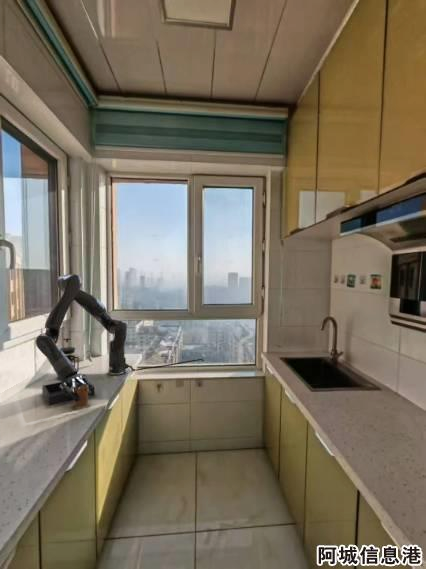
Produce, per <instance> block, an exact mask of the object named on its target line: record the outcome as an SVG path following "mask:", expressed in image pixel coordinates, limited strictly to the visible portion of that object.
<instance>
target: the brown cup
mask: <svg viewBox="0 0 426 569" xmlns="http://www.w3.org/2000/svg"><path fill="white" fill-rule="evenodd" d="M75 393H77V394H78V396H79V397H80V400H79V401H78V402H76V401H75V400H73V407H74V408H76V409H77V408H78V409H79V408H85V407H87V406H88V405H89V396H88V394H89V385H88V384H79V385H76V386H75Z"/></svg>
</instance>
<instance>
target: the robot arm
mask: <svg viewBox="0 0 426 569" xmlns="http://www.w3.org/2000/svg"><path fill="white" fill-rule="evenodd" d="M82 283H83V282H82V278H81V276H79V274H73V273H72V274H70V273H69V274H63V275H59V276H58V277H57V279H56V287H57V288H58V290H59V291H60V292H62V294H61V295H62V296H61V297H60V299H59V300H58V301H57V303H56V304H55V305H54V306H53V307H52V309H51V310H50V312H49V314H48V315H47V316H48V317H47V319H46V321H45V323H44V328H45V333H41V334H39V335H38V336H37V337H36V338H35V346H36V347H37V348H38V350H39V351H40V352H41V354H42V355H43V356H45V357H46V359H47V360H48V362H49V364H50V365H51V367H52V368H53V371H54V372H55V374H56V375H57V378H58V377H59V378H60V380H59V381H60V382H64V383H62V384H61V385H60V386H59V388H60V389H61V390H62V391H63V393H64V394H65V395H66V396H72V397H73V399H74V400H75V401H76V402H78V401H79V400H80V397H79V396H78V394H77V393H75V386H76V385H79V384H80V383H81V384H86V383H87V384H88V385H89V384H90V383H91V382H90V381H89V379H88V377H87V375H86V374H84V373H83V374H81V375H79V373H78V372H77V368H76V366H75V367H74V366H73V365H74V363H72V361H70V360H69V359H68V358H67V357H66V355H67V354H64V352H63V351H62V350H61V349H60V347H58V345H57V344H58V341H59V337H60V332H61V328H62V326H63V322H64V319H65V317H66V315H67V313H68V310H69V309H70V307H71V305H72V304H73V301H74V302H75V303H76V304H77V305H79V307H81V308H82V309H83V310H84V311H85V312H86V313H87V314H88V315H89V316H91V317H92V318H94V319H95V320H96V321H97V322H98V323H100V325H101V326H102V327H103V328H104V329H105V330H106V331H107V333H109V335H110V334H111V335H113V339H112V340H110V341H109V343H108V375H110V376H119V375H123V374H126V370H127V369H129V368H130V369H131V371H134V372H137V371H143V370H149V369H157V368H165V367H171V366H176V365H181V364H182V365H183V364H186V363H192V362H198V361H202V362H205V360H204V359H203V358H197V359H191V360H186V361H180V362H175V363H174V362H173V363H170V364H169V363H168V364H162V365H155V366H147V367H141V368H138V369H137V368H136V369H135V368H133V366H132V365H130V364H128V363H127V361H126V357H125V351H126V350H125V348H126V341H127V333H128V331H127V330H128V326H127V323H126V321H125V320H122V319H115V318H114V317H112V316H111V315H110V314H109V313H108V312H107V308H106V306H105V304H104V303H103V302H102V301H101V300H100V299H98V297H96V296H95V295H92V294H91V293H89V292H86V291H85V290H83V289H82V288H81V287H82ZM89 382H90V383H89ZM67 386H68V387H67ZM90 395H91V391H90V390H89V394H88V397H91V396H90ZM74 400H73V401H74Z"/></svg>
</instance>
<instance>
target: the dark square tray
mask: <svg viewBox="0 0 426 569" xmlns="http://www.w3.org/2000/svg"><path fill="white" fill-rule="evenodd" d="M62 383H64V382H62V381H58V382H54V383H47V384H43V385H42V388H41V389H42V392H41V393H42V395H43V396H42V397H43V398H44V400H45V401H46V403H47V405H48V406H53V405H58V404H61V403H66V402H71V401H74V399H73V397H72V396H66V395H65V394H64V393H63V391H62V390H61V389H60V388H59V386H60V385H61V384H62ZM89 383H90V384H89V390H90V391H91V395H90V396H89V397H92V396H95V386H94V385H93V384H92V383H91V382H90V381H89ZM80 384H81V383H80ZM86 384H87V383H86ZM67 387H68V386H67Z"/></svg>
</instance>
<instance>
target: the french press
mask: <svg viewBox="0 0 426 569" xmlns="http://www.w3.org/2000/svg"><path fill="white" fill-rule="evenodd" d="M62 340H63V341H65V342H66V343H69V341H71V340H72V338H70V337H67V338H63V339H62ZM59 348H60V347H59ZM60 349H61V350H62V351H63V352H64V354H65V355H66V357H67V358H68V359H69V360H70V361H71V362H72V361H73V366H74V367H75V368H76V370H77V373H78V372H79V371H80V370H79V368H80V366H79V365H80V357H79V356H76V355H74V353H75V350H76V347H73V346H71V347H69V346H65V347H61V348H60ZM76 359H77V361H76ZM76 362H77V364H76ZM76 365H77V366H76ZM57 380H59V381H61V380H60V378H59V377H58V376H57Z"/></svg>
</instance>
